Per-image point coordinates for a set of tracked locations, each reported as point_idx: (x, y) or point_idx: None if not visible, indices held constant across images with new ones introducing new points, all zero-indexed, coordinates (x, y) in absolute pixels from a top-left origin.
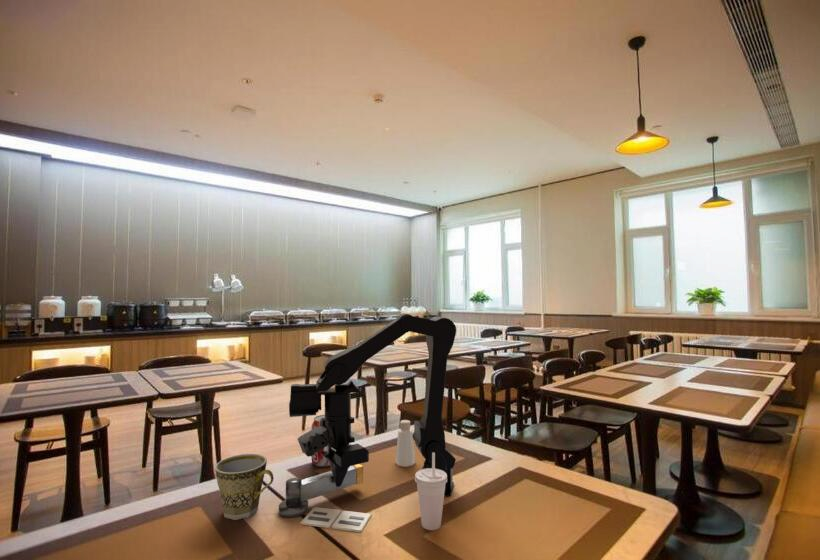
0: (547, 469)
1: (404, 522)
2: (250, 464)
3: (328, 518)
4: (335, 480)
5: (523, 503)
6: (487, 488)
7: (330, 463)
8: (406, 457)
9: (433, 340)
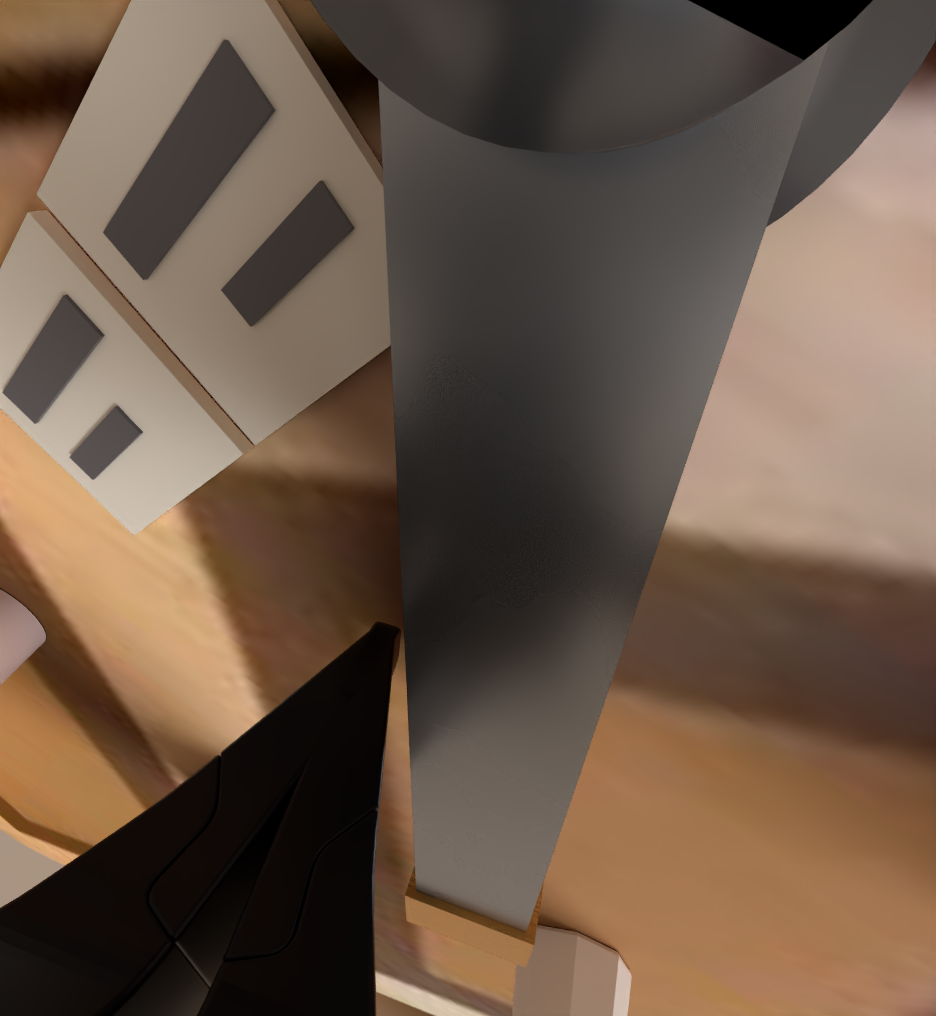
0: None
1: (44, 574)
2: None
3: (153, 269)
4: (341, 673)
5: (86, 799)
6: None
7: (301, 965)
8: (526, 989)
9: None
